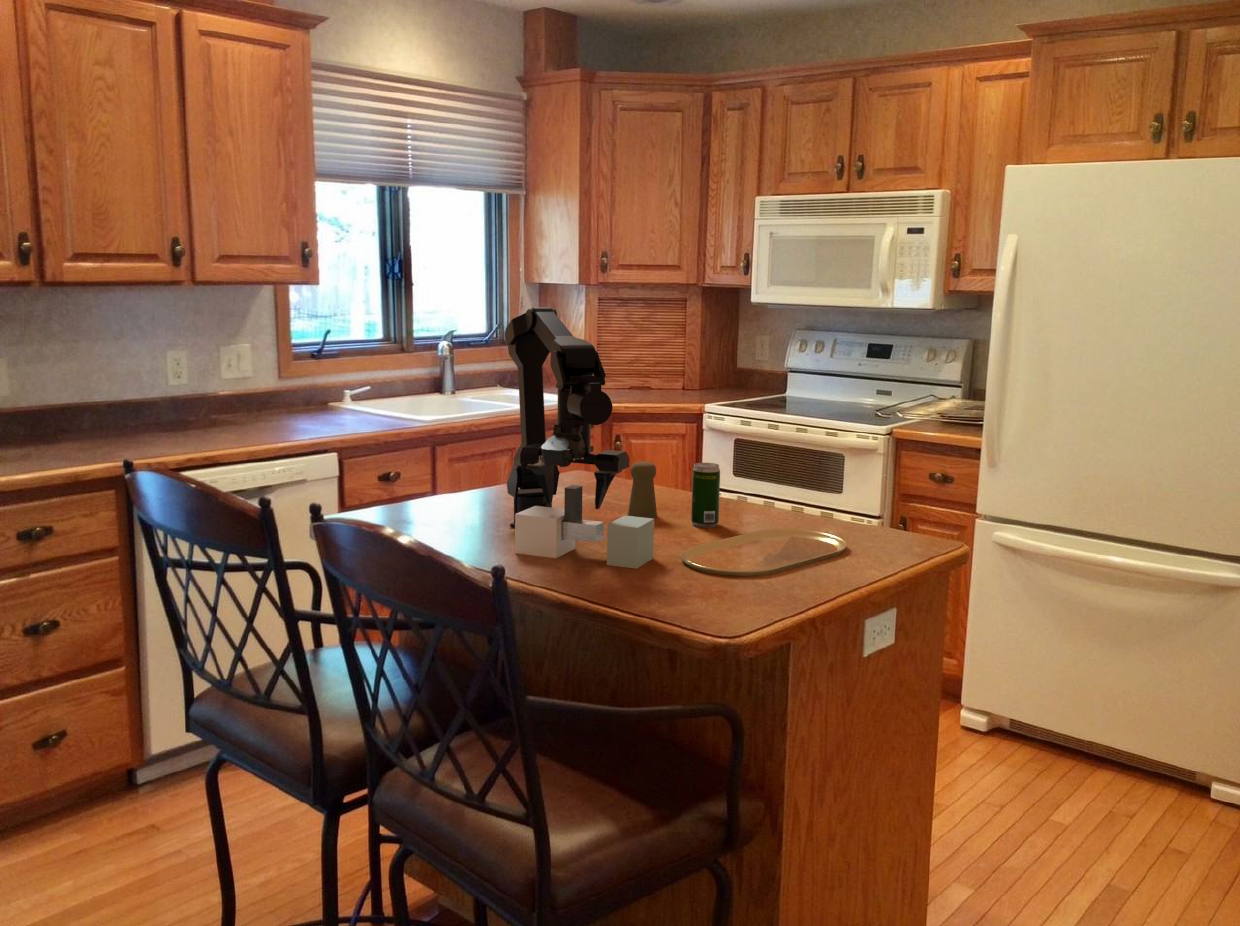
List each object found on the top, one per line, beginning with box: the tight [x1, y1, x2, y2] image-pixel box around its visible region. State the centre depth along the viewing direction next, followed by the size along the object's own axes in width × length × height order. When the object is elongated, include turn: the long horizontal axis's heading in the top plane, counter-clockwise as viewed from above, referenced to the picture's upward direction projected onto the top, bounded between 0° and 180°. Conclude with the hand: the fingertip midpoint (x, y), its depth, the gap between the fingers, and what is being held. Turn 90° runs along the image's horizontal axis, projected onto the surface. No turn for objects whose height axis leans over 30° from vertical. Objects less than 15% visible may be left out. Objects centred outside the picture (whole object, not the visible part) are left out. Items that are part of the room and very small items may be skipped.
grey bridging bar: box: [561, 484, 605, 543], centre depth 189 cm, size 15×3×9 cm, turn 67°
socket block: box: [606, 515, 655, 569], centre depth 184 cm, size 6×8×7 cm
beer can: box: [690, 462, 721, 529], centre depth 212 cm, size 5×5×12 cm
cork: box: [627, 461, 658, 519], centre depth 219 cm, size 6×6×11 cm
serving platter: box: [680, 528, 848, 577], centre depth 191 cm, size 19×35×2 cm, turn 134°
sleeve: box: [514, 506, 576, 559], centre depth 191 cm, size 8×8×7 cm
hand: (573, 506), depth 188 cm, fingers open, 9 cm apart
